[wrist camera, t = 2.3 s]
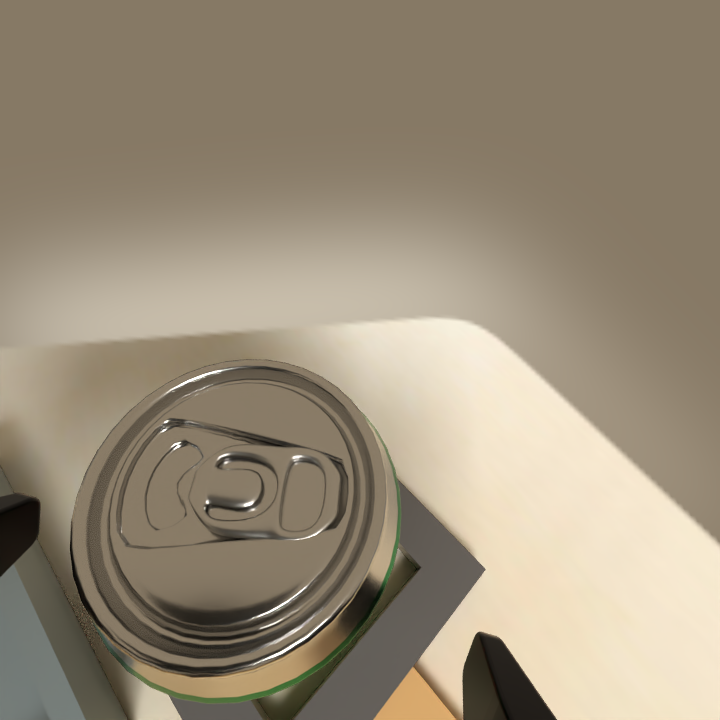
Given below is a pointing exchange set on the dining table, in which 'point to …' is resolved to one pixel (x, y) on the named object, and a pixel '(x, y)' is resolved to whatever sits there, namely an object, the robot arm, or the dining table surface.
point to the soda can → (235, 531)
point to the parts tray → (46, 648)
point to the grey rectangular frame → (385, 638)
